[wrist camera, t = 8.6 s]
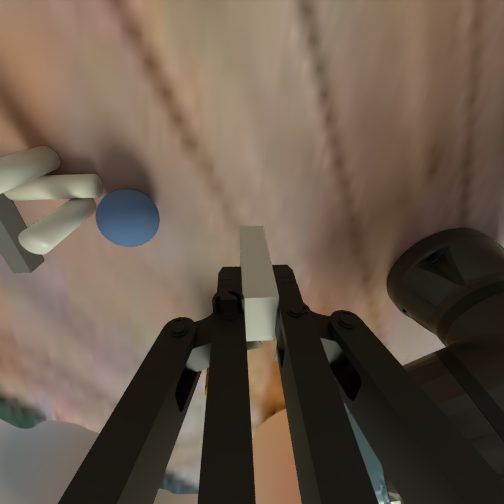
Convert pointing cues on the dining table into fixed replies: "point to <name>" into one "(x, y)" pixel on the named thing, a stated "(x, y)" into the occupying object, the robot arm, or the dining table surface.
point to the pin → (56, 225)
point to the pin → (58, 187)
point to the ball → (127, 217)
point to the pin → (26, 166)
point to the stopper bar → (15, 239)
